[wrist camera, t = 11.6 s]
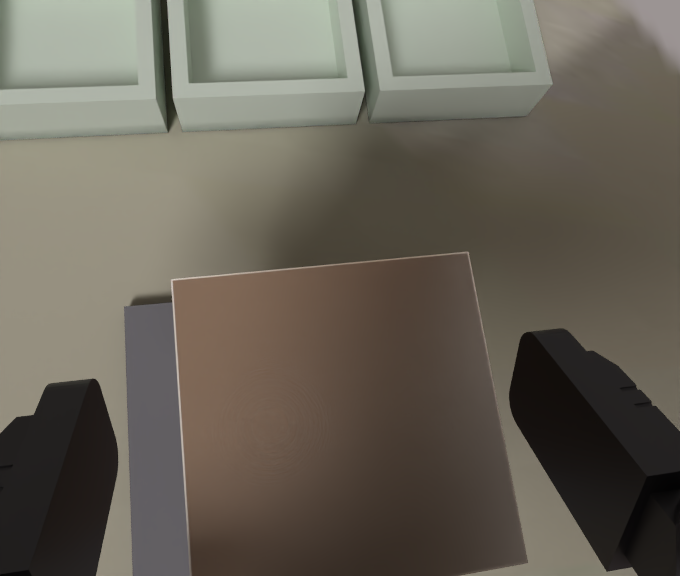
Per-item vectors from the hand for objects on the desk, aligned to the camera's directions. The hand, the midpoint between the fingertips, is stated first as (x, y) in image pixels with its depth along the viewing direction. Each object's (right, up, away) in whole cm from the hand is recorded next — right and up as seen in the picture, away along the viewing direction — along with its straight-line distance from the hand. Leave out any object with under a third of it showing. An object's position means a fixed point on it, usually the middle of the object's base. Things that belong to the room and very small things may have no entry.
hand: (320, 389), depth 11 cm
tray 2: (-2, +10, +9) cm, 14 cm away
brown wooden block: (-1, -2, +6) cm, 6 cm away
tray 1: (-9, +10, +8) cm, 16 cm away
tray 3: (+4, +11, +10) cm, 16 cm away
